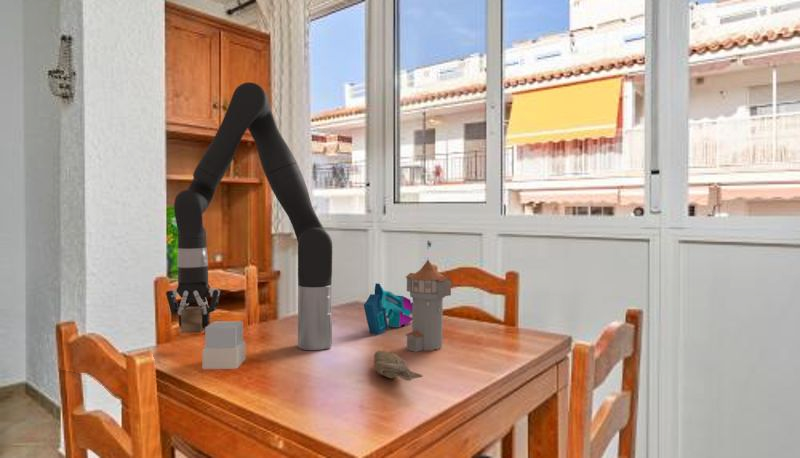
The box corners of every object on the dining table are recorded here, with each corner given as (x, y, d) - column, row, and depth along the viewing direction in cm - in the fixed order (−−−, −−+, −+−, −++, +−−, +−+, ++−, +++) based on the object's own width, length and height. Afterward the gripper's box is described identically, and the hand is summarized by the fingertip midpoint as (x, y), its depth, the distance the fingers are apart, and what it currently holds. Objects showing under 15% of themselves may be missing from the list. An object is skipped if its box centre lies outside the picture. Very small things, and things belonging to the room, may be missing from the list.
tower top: (242, 340, 126) (242, 321, 126) (235, 348, 119) (235, 327, 119) (214, 341, 126) (214, 321, 126) (205, 348, 119) (205, 327, 119)
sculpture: (401, 401, 99) (402, 376, 99) (362, 366, 122) (362, 346, 122) (430, 397, 101) (430, 372, 101) (386, 363, 124) (386, 343, 124)
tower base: (245, 359, 127) (245, 340, 127) (236, 369, 119) (236, 348, 119) (213, 360, 126) (213, 340, 126) (202, 369, 118) (202, 348, 118)
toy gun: (408, 346, 168) (418, 303, 173) (367, 330, 148) (379, 282, 153) (398, 344, 171) (407, 302, 175) (356, 328, 151) (368, 280, 155)
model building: (457, 347, 140) (459, 240, 139) (430, 356, 131) (432, 242, 130) (420, 339, 149) (421, 238, 148) (392, 346, 141) (393, 240, 140)
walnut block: (207, 328, 136) (206, 306, 136) (200, 332, 131) (200, 310, 131) (188, 328, 136) (188, 306, 136) (181, 333, 131) (180, 310, 131)
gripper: (224, 263, 137) (225, 324, 138) (171, 263, 137) (172, 325, 137) (215, 265, 130) (217, 330, 130) (159, 266, 129) (161, 331, 130)
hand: (194, 327), depth 134 cm, fingers closed on walnut block, 5 cm apart
